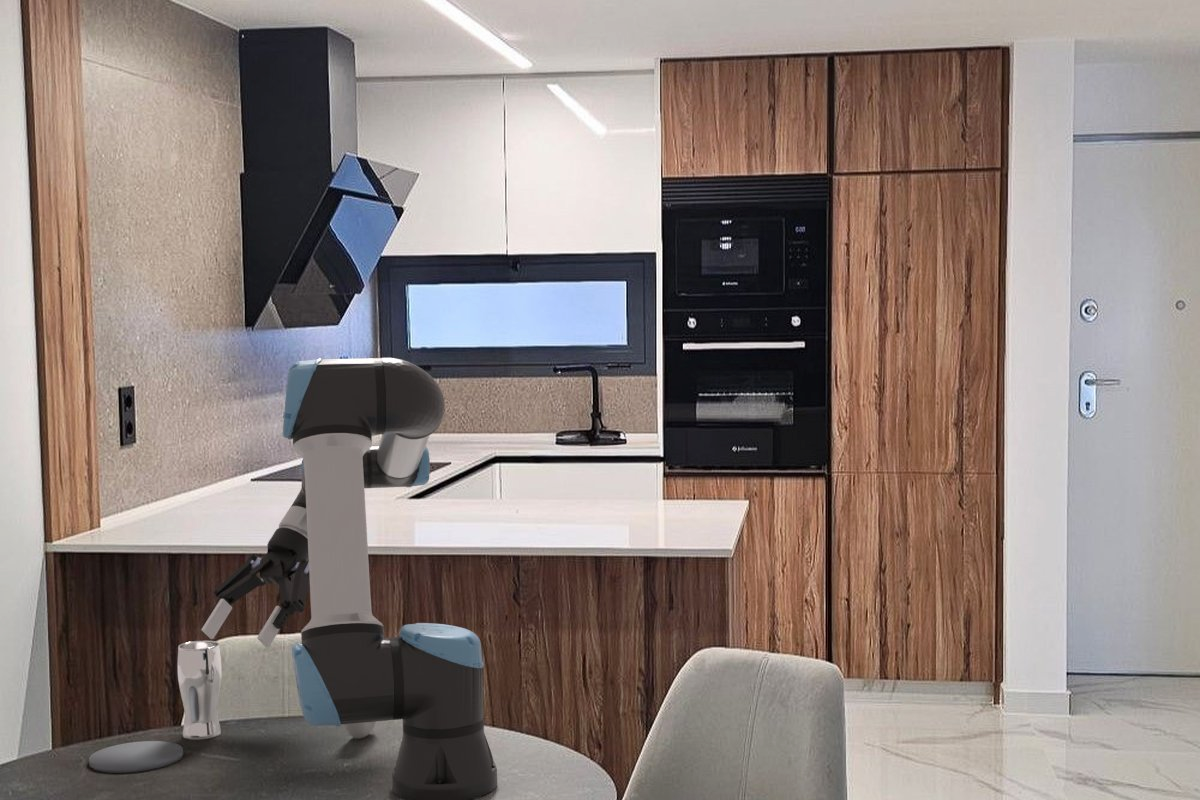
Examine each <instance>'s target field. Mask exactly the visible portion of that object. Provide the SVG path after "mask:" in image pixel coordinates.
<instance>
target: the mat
mask: <svg viewBox="0 0 1200 800" xmlns="http://www.w3.org/2000/svg"><path fill="white" fill-rule="evenodd" d="M183 756H184V750H183V747H182V745H180V744H178V743H175V742H169V741H161V740H147V741H145V740H144V741H132V742H126V743H120V744H115V745H112V746H107V747H104V748H101V749H100V750H97V751H95V752H93V753H92V754H91V755H90V756H89V758H88V766H89V767H90V768H91V769H92V768H93V770H95V771H98V772H102V773H109V774H110V773H112V774H113V773H114V774H119V773H120V774H124V773H137V772H138V773H139V772H145V771H150V770H155V769H156V770H157V769H160V768H164V767H166V766H169V765H173V764H175V763H176V762H178V761H180V760H181V759H182V758H183Z"/></svg>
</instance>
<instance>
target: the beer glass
mask: <svg viewBox="0 0 1200 800" xmlns="http://www.w3.org/2000/svg"><path fill="white" fill-rule="evenodd" d="M177 649H178V650H177V681H178V686H179V691H180V696H181V700H182V706H183V710H184V711H183V712H184V722H183V723H184V724H183V728H182V729H183V730H182V737H183V739H186V740H193V741H198V740H199V741H200V740H208V739H212V738H216V737H218V736H220V735H221V732H222V729H221V725H220V721H219V712H218V710H219V699H220V692H221V685H222V657H221V651H220V642H219V641H215V640H194V641H188V642H183V643H181V644H178V647H177Z"/></svg>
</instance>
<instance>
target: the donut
mask: <svg viewBox="0 0 1200 800" xmlns="http://www.w3.org/2000/svg"><path fill="white" fill-rule="evenodd" d="M376 722H377V721H376ZM376 722H364V723H352V724H344V728H345V730H346V732H347V733H348V735H349V736H351V737H352V738H354V739H362V738H366V737H368V736H369V734H370V733H372V731H373V729H374V727H375V725H376Z"/></svg>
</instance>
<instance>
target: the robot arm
mask: <svg viewBox="0 0 1200 800" xmlns="http://www.w3.org/2000/svg"><path fill="white" fill-rule="evenodd" d="M286 381H287V382H286V389H285V390H286V391H285V402H284V412H283V424H282V425H283V426H282V436H283V438H286V439H288V440H292V446H293V447H292V449H293V451H294V452H295V453H296V454H297V455H299V457H301V458H302V460H301V488H300V490H299V492H298V494H297V496H296V497H295V499H294V501H293V502H292V505H291V506H290V507H289V509H288V510H287V511H286V513H285V515H284V516H283V517H282V520H281V521H280V522H279V525H278V528H277V529H275V531H274V533H273V534H272V536H271V537H270V539H269V540H268V542H267V551H266V554H264V556H262V557H259V556H258V555H256V553H251V554H250V555H249V557H248V558H247V559H246V561H244V563H243V564H242V565H241V566H239V568H237V570H235V571H234V572H232V573H231V575H230V576H229V577H227V578H226V579H225V580H224V581H223V582H222V583H221V584H220V585H219V586H217V587H216V588H215V589H214V590H213V592H212V594H213V595H214V596H215V597H216V598H217V601H216V603H215V605H214V607H212V609H211V611H210V613H209V617H208V618H207V620H206V622H205V623H204V625H202V628H201V632H203V633H204V634H205V635H206V636H207V637H208V638H209V639H210V640H214V639H215V637H216V636H217V634H218V632H219V631H220V629H221V627H222V625H223V624H224V623H225V621H226V619H227V618H228V616H229V614H230V613H231V611H232V610H233V607H232V604H234V603H236V602H237V601H238V600H240V599H241V598H243V597H245V596H246V595H247V594H249V593H250V592H252V591H253V590H255V589H256V588H258V587H263V586H264V585H268V584H269V585H273V584H274V585H277V586H278V589H279V597H280V598H279V599H280V602H278V604H279V605H276V606H275V607H274V609H273V611H272V613H271V614H270V616H269V618H267V621H266V622H265V624H264V625H263V627H262V629H261V630H260V632H259V634H258V636H257V637H256V639H257V640H258V641H259V642H260V643H261V644H262V645H263V646H264V647H265V648H270V646H271V645H272V643H273V642H274V640H275V638H276V637H277V635H278V633H279V631H280V630H282V629H283V628H284V626H285V625H286V623H287V622H288V620H289V618H290V616H291V615H293V614H295V612H298V613H303V612H304V611H305V609H306V608H305V607H306V600H307V594H308V586H309V595H310V599H309V600H310V616H311V617H310V620H309V622H307V624H306V625H305V626H304V627H303V628H302V629H301V631H300V632H301V633H300V635H301V638H300V639H301V642H297V643H295V644H293V645H292V647H291V656H292V662H293V663H292V664H293V671H294V676H295V684H296V688H297V694H298V700H299V703H300V708H301V713H302V715H303V716H302V717H303V718H304V720H305V721H306V723H308V724H310V725H312V726H336V727H341V725H345V724H352V723H364V722H384V721H385V722H387V721H396V720H398V721H399V720H402V739H401V744H400V746H399V749H398V750H399V751H398V754H397V758H396V763H395V766H394V768H393V770H392V774H391V786H392V787H391V789H392V790H391V791H392V792H393V793H394V794H395V795H396V796H397V797H400V798H402V799H404V800H473V799H476V798H479V797H482V796H485V795H487V794H489V793H491V792H492V791H493V790H495V789H496V788H497V786H498V768H497V765H496V763H495V761H494V757H493V755H492V752H491V747H490V745H489V741H488V739H487V736H486V733H485V724H484V723H485V722H484V721H485V720H484V719H485V718H484V716H485V715H484V688H483V687H484V684H483V683H484V682H483V668H484V665H485V663H484V660H483V654H482V643H481V640H480V638H479V636H478V635H477V634H476V633H475V632H473V631H472V630H469V629H467V628H465V627H461V626H456V625H450V624H443V623H430V622H416V623H411V624H410V623H407V624H404V625H402V626H401V627H400V629H399V632H398V635H399V636H394V637H393V636H392V637H385V633H384V625H383V623H382V622H381V621H379V619H377V618H376V617H375V616H374V614H373V612H372V599H371V598H372V597H371V582H370V581H371V580H370V562H369V547H368V546H369V545H368V543H369V542H368V532H367V530H368V527H367V515H366V514H367V510H366V494H365V489H381V488H382V489H383V488H386V489H387V488H411V487H417V486H418V487H419V486H425V485H426V484H428V483H429V481H430V474H431V463H430V452H429V448H428V447H427V446H426V445H427V443H428V441H429V437H430V436H431V435H432V434H434V433H435V432H436V431H437V429H439V427H440V425H441V424H442V420H443V418H444V415H445V410H446V406H445V405H446V403H445V402H446V401H445V398H444V393H443V391H442V389H441V388H440V387H441V386H440V385H439V384H438V382H437V381H436V380H435V379H434V378H433V376H432V375H430V374H429V373H428V372H426V370H424V369H423V368H421V367H420V366H418V365H416V364H414V363H412V362H411V361H408V360H405V359H402V358H401V359H400V358H396V357H373V358H372V357H371V358H367V357H366V358H363V357H360V358H356V357H355V358H321V357H319V358H317V359H310V360H309V359H308V360H298V361H295V362H294V363H292V364H291V365H290V367H289V369H288V372H287V379H286ZM373 435H374V436H375V435H381V437H380V441H379V445H373V441H372V439H373V438H372V436H373ZM293 576H294V580H293Z"/></svg>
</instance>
